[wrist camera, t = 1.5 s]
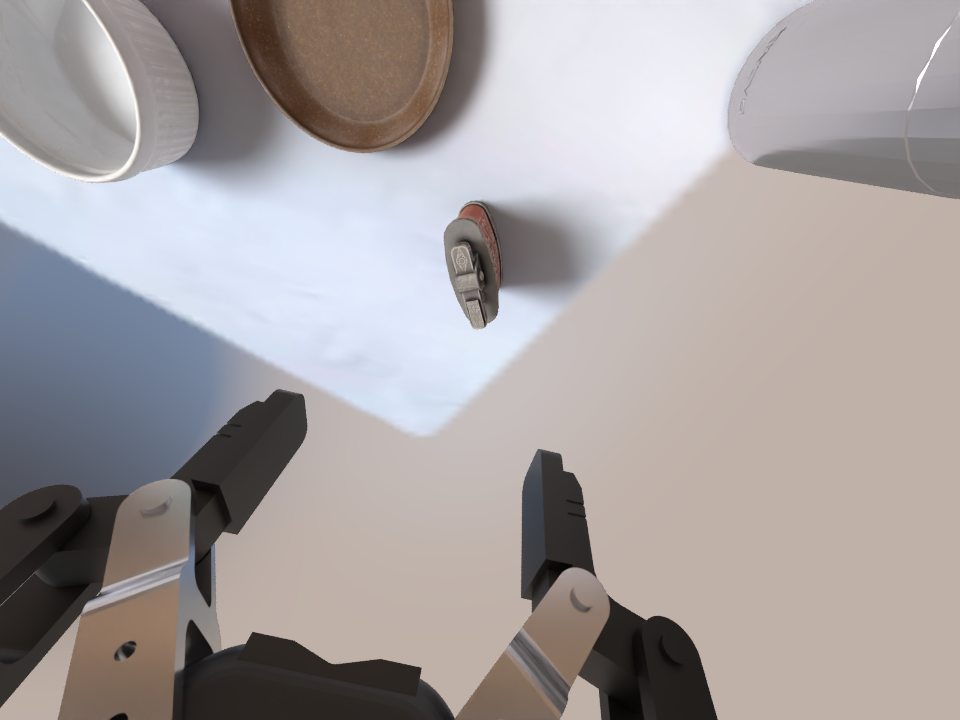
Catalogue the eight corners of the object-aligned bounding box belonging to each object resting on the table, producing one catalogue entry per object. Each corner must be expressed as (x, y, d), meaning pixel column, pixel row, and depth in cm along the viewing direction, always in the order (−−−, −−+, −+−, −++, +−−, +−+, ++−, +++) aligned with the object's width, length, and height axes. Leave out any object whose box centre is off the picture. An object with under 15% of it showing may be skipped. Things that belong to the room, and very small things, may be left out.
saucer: (424, 181, 30) (416, 186, 27) (249, 102, 28) (225, 100, 26) (492, -65, 22) (489, -87, 19) (252, -199, 20) (218, -241, 18)
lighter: (452, 205, 30) (425, 235, 22) (490, 196, 30) (477, 223, 21) (474, 291, 34) (459, 343, 26) (508, 285, 34) (503, 336, 25)
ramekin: (168, 204, 33) (93, 220, 27) (13, 52, 27) (-122, 32, 22) (249, 106, 28) (177, 100, 22) (79, -104, 22) (-75, -184, 17)
